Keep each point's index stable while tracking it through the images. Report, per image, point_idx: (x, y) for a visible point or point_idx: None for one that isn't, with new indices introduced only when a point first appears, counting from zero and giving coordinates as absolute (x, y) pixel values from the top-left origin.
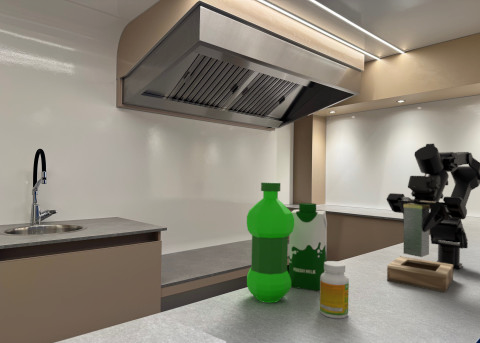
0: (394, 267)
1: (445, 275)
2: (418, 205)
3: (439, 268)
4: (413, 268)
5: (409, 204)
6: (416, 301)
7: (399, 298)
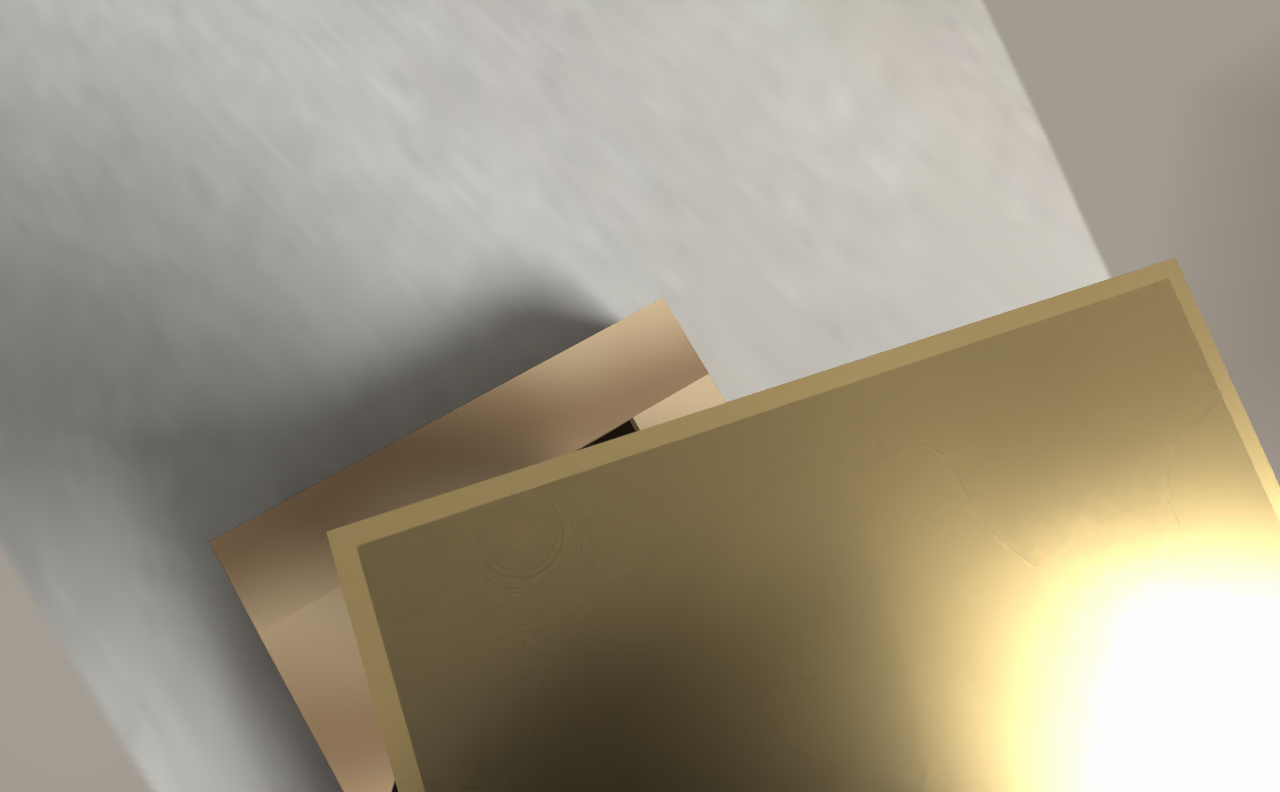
0: (608, 327)
1: (211, 540)
2: (535, 470)
3: None
4: (502, 442)
5: (1017, 407)
6: (227, 175)
7: (315, 118)
